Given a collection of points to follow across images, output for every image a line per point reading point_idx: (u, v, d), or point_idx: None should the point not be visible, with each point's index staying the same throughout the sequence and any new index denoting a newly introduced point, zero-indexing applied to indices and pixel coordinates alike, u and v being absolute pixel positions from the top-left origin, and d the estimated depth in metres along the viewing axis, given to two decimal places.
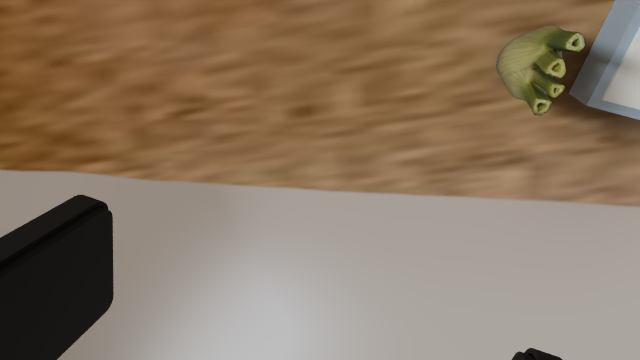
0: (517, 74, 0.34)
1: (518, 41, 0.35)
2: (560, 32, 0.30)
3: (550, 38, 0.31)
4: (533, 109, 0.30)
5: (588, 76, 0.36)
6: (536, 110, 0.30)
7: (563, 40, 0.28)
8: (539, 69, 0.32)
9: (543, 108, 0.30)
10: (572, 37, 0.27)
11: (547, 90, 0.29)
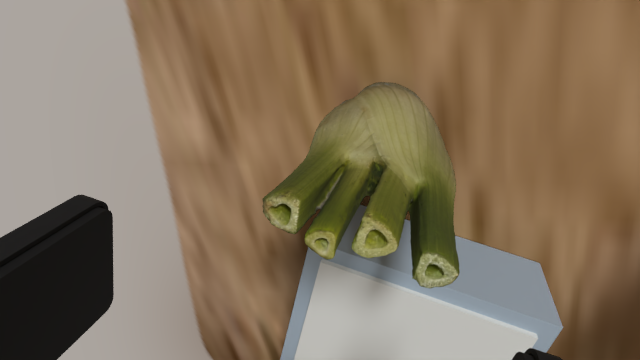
0: (361, 129, 0.16)
1: (426, 121, 0.18)
2: (450, 214, 0.14)
3: (437, 192, 0.14)
4: (274, 196, 0.12)
5: None
6: (272, 203, 0.12)
7: (439, 242, 0.12)
8: (372, 177, 0.15)
9: (278, 216, 0.12)
10: (448, 264, 0.11)
11: (321, 222, 0.12)
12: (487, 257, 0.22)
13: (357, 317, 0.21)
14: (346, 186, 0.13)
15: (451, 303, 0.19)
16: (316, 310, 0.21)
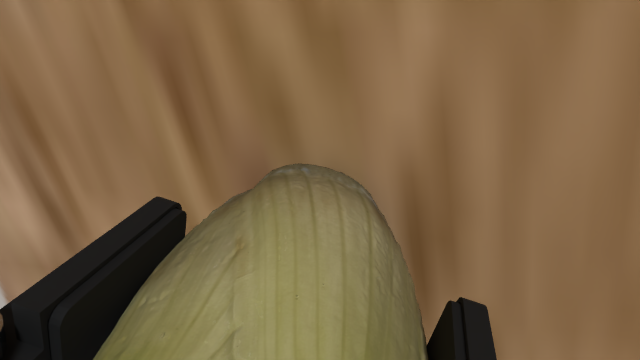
0: (217, 312, 0.07)
1: (371, 265, 0.09)
2: None
3: None
4: None
5: None
6: None
7: None
8: None
9: None
10: None
11: None
12: None
13: None
14: None
15: None
16: None
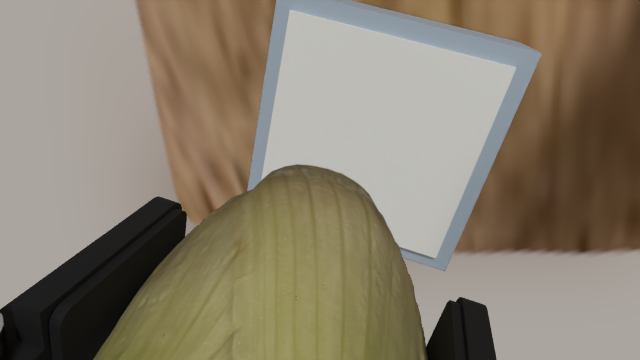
0: (216, 313, 0.07)
1: (371, 266, 0.09)
2: None
3: None
4: None
5: None
6: None
7: None
8: None
9: None
10: None
11: None
12: (465, 29, 0.21)
13: (330, 77, 0.20)
14: None
15: (426, 43, 0.18)
16: (287, 77, 0.20)
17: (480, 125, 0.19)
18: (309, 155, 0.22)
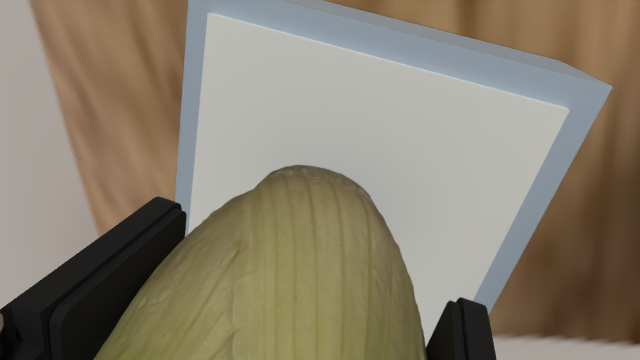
0: (216, 313, 0.07)
1: (371, 267, 0.09)
2: None
3: None
4: None
5: None
6: None
7: None
8: None
9: None
10: None
11: None
12: (481, 43, 0.14)
13: (274, 116, 0.13)
14: None
15: (422, 67, 0.12)
16: (211, 115, 0.13)
17: (507, 195, 0.12)
18: None
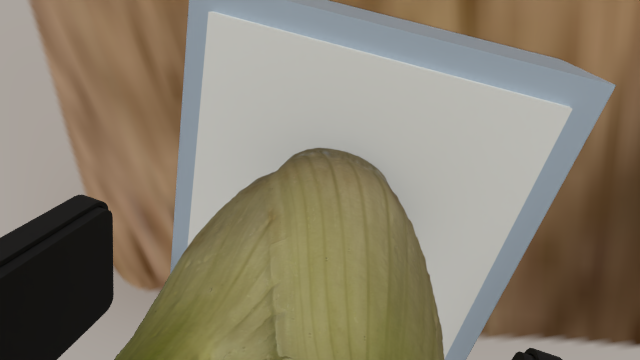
0: (256, 271, 0.08)
1: (389, 236, 0.09)
2: None
3: None
4: None
5: None
6: None
7: None
8: None
9: None
10: None
11: None
12: (483, 42, 0.14)
13: (275, 116, 0.13)
14: None
15: (424, 65, 0.11)
16: (212, 114, 0.13)
17: (509, 195, 0.12)
18: None
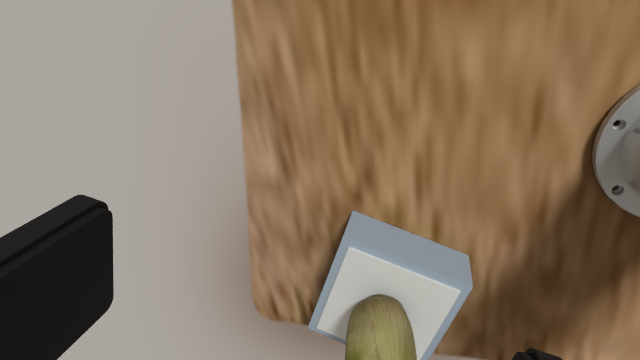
0: (372, 342, 0.33)
1: (404, 331, 0.34)
2: None
3: None
4: None
5: (368, 230, 0.39)
6: None
7: None
8: None
9: None
10: None
11: None
12: (439, 250, 0.39)
13: (366, 279, 0.38)
14: None
15: (417, 272, 0.36)
16: (342, 275, 0.38)
17: (441, 313, 0.37)
18: (349, 311, 0.39)
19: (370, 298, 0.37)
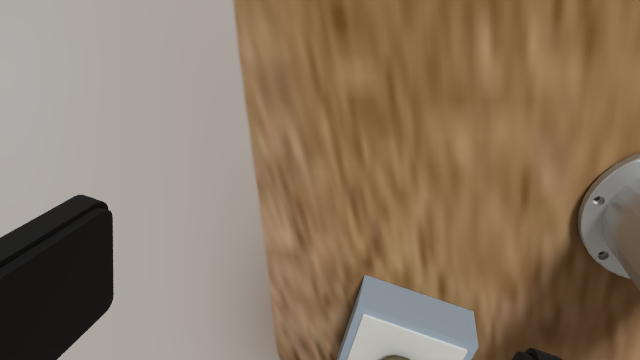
0: None
1: None
2: None
3: None
4: None
5: (380, 295, 0.43)
6: None
7: None
8: None
9: None
10: None
11: None
12: (446, 309, 0.43)
13: (380, 342, 0.41)
14: None
15: (426, 335, 0.40)
16: (359, 338, 0.42)
17: None
18: None
19: None
